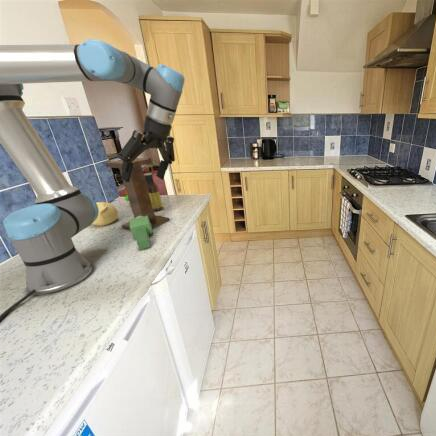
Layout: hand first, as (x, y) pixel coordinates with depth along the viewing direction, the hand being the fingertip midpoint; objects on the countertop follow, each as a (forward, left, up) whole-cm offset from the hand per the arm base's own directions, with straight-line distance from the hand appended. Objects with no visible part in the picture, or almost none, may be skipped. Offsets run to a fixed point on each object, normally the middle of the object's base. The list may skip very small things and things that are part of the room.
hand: (143, 178), depth 84 cm
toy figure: (+3, +14, -26) cm, 30 cm away
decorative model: (+34, +55, -27) cm, 70 cm away
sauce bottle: (+30, +37, -27) cm, 55 cm away
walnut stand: (+14, +25, -27) cm, 39 cm away
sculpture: (+8, +46, -27) cm, 54 cm away
